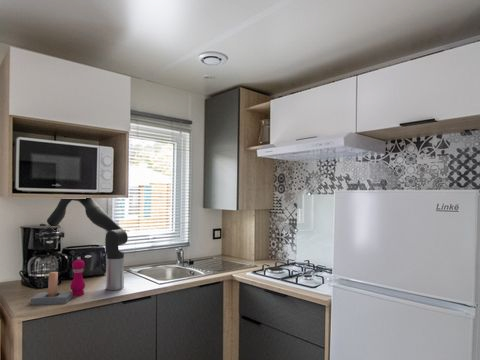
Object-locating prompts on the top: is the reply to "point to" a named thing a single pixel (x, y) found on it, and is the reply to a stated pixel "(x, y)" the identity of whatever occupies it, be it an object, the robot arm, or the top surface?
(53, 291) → the dowel
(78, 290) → the pepper mill
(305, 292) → the top surface
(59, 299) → the socket block
